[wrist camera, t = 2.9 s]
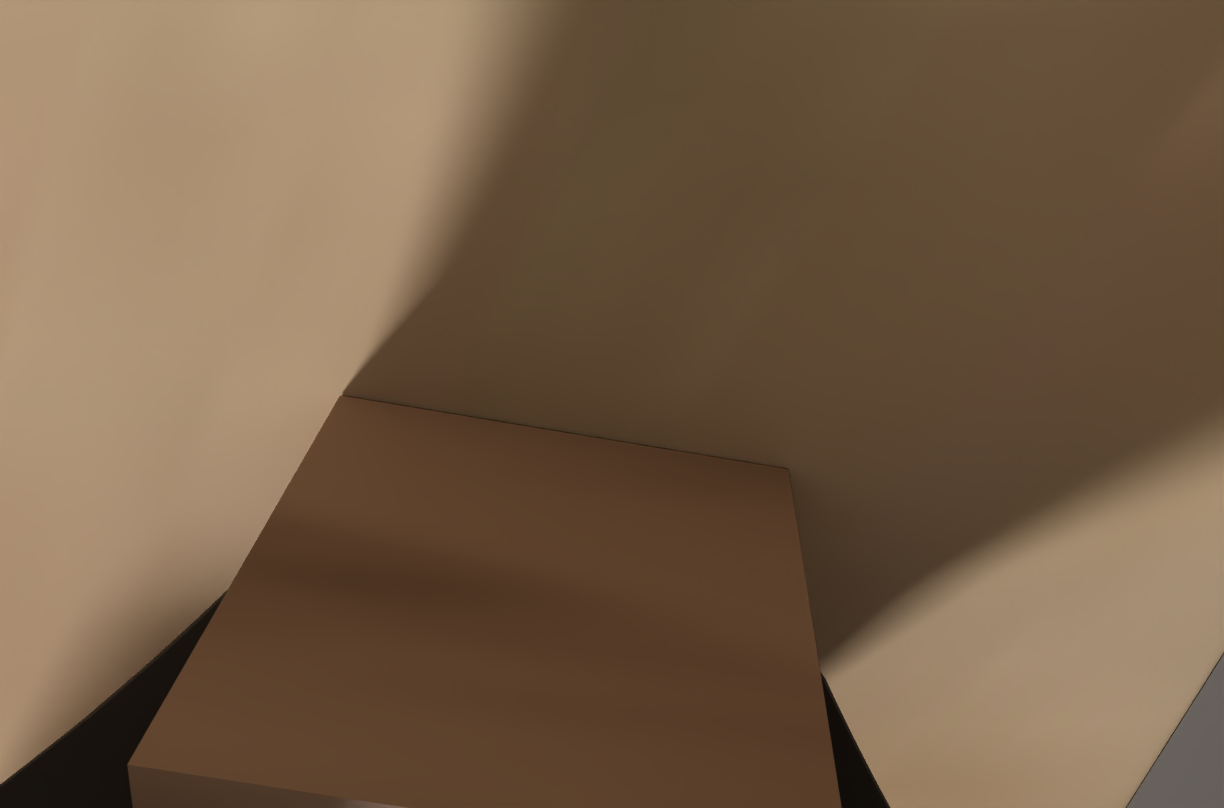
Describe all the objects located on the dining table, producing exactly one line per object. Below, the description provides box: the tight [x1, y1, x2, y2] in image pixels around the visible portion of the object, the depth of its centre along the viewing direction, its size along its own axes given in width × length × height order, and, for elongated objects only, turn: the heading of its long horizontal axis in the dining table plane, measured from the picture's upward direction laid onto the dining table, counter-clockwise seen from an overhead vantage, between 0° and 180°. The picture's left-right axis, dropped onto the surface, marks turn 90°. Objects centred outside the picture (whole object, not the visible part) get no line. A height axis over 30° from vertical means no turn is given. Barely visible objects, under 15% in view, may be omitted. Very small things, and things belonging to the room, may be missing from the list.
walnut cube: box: [127, 396, 842, 808], centre depth 10 cm, size 5×5×5 cm
